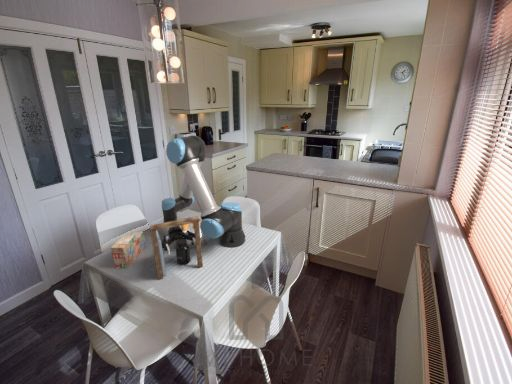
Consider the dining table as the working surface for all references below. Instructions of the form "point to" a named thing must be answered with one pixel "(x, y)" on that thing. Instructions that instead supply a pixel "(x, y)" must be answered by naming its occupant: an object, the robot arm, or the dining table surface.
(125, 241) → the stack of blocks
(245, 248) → the dining table surface
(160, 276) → the door frame
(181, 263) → the supplement bottle
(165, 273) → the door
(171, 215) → the robot arm
